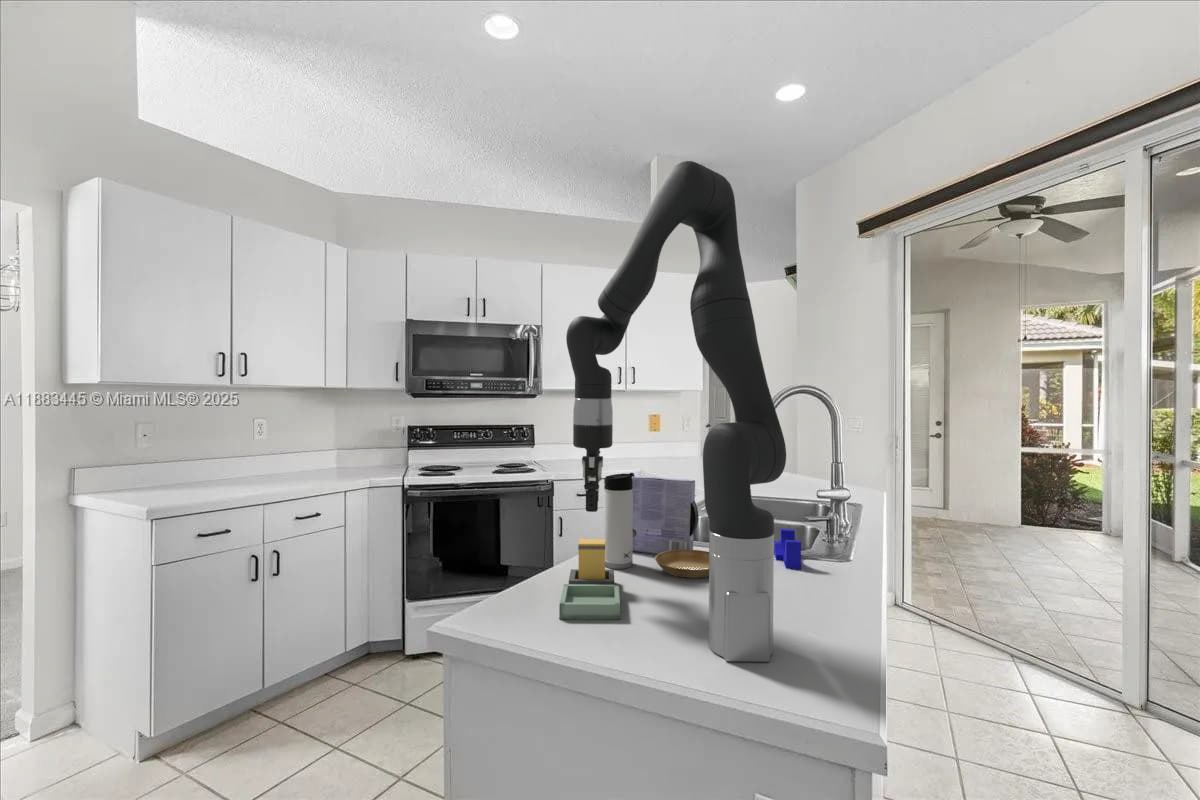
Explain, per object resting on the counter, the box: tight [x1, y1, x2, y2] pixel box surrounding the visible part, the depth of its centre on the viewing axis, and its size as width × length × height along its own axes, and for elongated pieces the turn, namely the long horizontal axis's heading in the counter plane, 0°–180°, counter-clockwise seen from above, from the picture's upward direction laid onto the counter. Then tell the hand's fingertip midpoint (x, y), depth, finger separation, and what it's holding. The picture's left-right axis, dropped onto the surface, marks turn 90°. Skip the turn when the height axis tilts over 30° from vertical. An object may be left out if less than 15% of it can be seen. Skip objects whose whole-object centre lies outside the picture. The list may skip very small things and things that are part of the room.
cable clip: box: [774, 528, 802, 571], centre depth 131 cm, size 12×4×6 cm, turn 169°
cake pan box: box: [632, 474, 699, 555], centre depth 138 cm, size 19×5×18 cm, turn 70°
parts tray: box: [558, 583, 621, 621], centre depth 102 cm, size 10×10×2 cm
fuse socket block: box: [568, 568, 615, 585], centre depth 112 cm, size 7×8×2 cm
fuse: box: [577, 538, 606, 579], centre depth 112 cm, size 4×5×9 cm
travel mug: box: [603, 472, 635, 570], centre depth 127 cm, size 6×7×20 cm
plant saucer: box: [654, 549, 709, 579], centre depth 124 cm, size 15×15×3 cm
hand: (592, 506), depth 112 cm, fingers open, 8 cm apart
